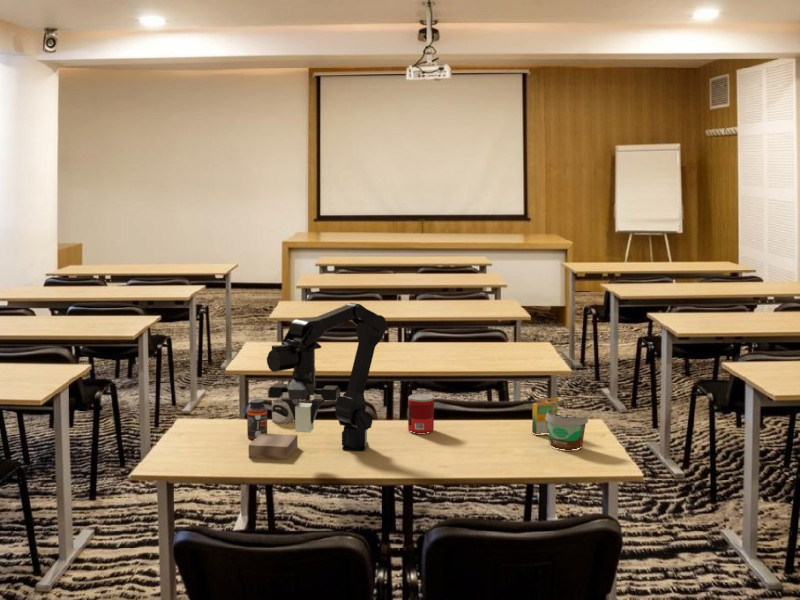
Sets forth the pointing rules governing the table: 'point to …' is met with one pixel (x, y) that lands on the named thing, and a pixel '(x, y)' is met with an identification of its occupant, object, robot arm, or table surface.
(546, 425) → the crayon box
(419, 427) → the canned food
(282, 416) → the mug
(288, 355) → the robot arm
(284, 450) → the walnut block
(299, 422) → the sage block
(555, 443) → the food container
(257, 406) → the supplement bottle
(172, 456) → the table surface
